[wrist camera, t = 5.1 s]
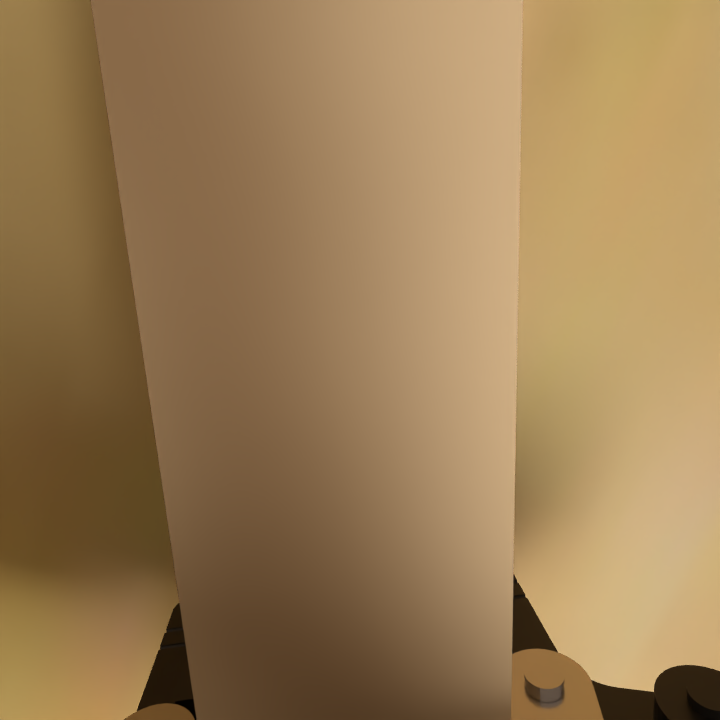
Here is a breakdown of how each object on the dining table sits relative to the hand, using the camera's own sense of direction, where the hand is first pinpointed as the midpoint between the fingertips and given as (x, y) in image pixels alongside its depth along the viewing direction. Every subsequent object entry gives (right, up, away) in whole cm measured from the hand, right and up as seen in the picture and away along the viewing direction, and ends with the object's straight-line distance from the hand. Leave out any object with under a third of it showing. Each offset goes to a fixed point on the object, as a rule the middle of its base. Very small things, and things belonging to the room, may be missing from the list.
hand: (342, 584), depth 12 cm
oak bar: (0, 0, +1) cm, 1 cm away
